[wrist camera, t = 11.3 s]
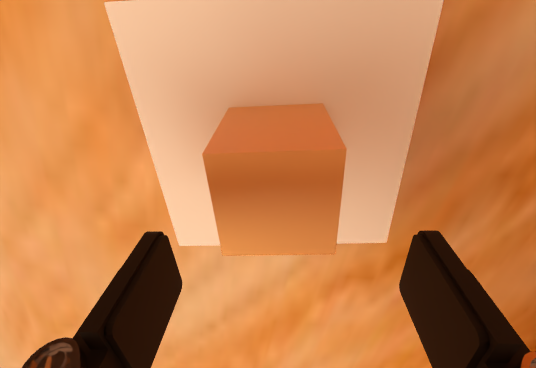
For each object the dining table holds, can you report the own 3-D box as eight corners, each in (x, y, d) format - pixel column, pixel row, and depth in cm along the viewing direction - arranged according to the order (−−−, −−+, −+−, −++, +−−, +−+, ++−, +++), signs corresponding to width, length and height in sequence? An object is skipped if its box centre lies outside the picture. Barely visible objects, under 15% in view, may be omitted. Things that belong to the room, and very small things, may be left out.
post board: (429, -18, 15) (516, -39, 10) (378, 227, 25) (408, 287, 19) (122, 4, 16) (40, -4, 11) (186, 230, 26) (160, 289, 20)
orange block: (322, 103, 17) (346, 149, 11) (318, 184, 20) (335, 254, 14) (228, 107, 17) (202, 154, 11) (239, 186, 20) (222, 255, 14)
